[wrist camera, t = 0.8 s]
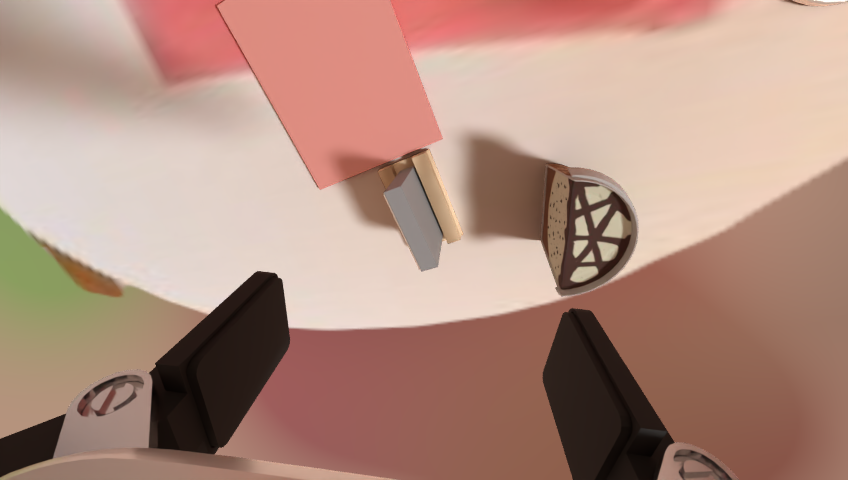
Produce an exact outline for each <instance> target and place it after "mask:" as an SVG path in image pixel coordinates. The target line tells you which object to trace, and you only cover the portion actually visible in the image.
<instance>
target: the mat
mask: <svg viewBox="0 0 848 480" xmlns="http://www.w3.org/2000/svg"><path fill="white" fill-rule="evenodd" d="M217 7H218V9H219V11H220V13H221V14H222V16H223V18H224V20H225V22H226V23H227V25H228V27H229V29H230V30H231V32H232V34H233V36H234V38H235V39H236V41H237V43H238V45H239V46H240V48H241V50H242V52H243V54H244V55H245V57H246V59H247V61H248V62H249V64H250V66H251V68H252V70H253V71H254V73H255V75H256V77H257V78H258V80H259V82H260V84H261V86H262V87H263V89H264V91H265V93H266V94H267V96H268V98H269V100H270V102H271V103H272V105H273V107H274V109H275V110H276V112H277V114H278V116H279V118H280V119H281V121H282V123H283V125H284V127H285V128H286V130H287V132H288V134H289V135H290V137H291V139H292V141H293V143H294V144H295V146H296V148H297V150H298V151H299V153H300V155H301V157H302V159H303V160H304V162H305V164H306V166H307V167H308V169H309V171H310V173H311V175H312V176H313V178H314V180H315V182H316V183H317V185H318V187H319V189H320V190H321V189H323V188H326V187H328V186H331V185H333V184H335V183H338V182H340V181H343V180H345V179H347V178H350V177H352V176H355V175H357V174H359V173H362V172H364V171H367V170H369V169H372V168H374V167H376V166H379V165H381V164H384V163H386V162H388V161H391V160H393V159H396V158H398V157H400V156H403V155H405V154H408V153H410V152H413V151H415V150H417V149H420V148H422V147H425V146H427V145H429V144H432V143H434V142H437V141H439V140H441V139H443V138H442V135H441V133H440V130H439V127H438V125H437V122H436V119H435V117H434V114H433V111H432V109H431V106H430V104H429V101H428V98H427V96H426V93H425V90H424V88H423V85H422V82H421V80H420V77H419V74H418V72H417V69H416V67H415V64H414V61H413V59H412V56H411V53H410V51H409V48H408V45H407V43H406V40H405V37H404V35H403V32H402V30H401V27H400V24H399V22H398V19H397V16H396V14H395V11H394V8H393V6H392V3H391V0H225V1H223V2H222V3H220V4H219V5H217Z"/></svg>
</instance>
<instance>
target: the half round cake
mask: <svg viewBox="0 0 848 480" xmlns="http://www.w3.org/2000/svg"><path fill="white" fill-rule="evenodd" d="M637 239H638V218H637V214H636V211H635V208H634V206H633V204H632V202H631V201H630V199H629V197H628V195H627V193H626V192H625V191H624V190H623V188H622V187H621V186H620V185H619V184H618V183H617V182H615V181H614V180H613V179H612V178H610V177H608V176H606V175H604V174H602V173H600V172H597V171H594V170H591V169H584V168H570V167H567V166H564V165H560V164H546V171H545V185H544V199H543V213H542V227H541V243H542V246H543V249H544V251H545V254H546V257H547V260H548V262H549V265H550V268H551V271H552V273H553V276H554V279H555V282H556V284H557V287H556V290H557V292H558V294H559V295H561V297H563V296H573V295H579V294H582V293H586V292H589V291H592V290H594V289H596V288H598V287H600V286H602V285H604V284H605V283H607V282H609V281H610V280H611V279H613V278H614V277H615V276H616V275H617V274H618V273H619V272H620V271H621V270H622V269H623V268H624V267H625V266H626V264H627V263H628V261H629V260H630V258H631V256H632V254H633V252H634V250H635V247H636V244H637Z"/></svg>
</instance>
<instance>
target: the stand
mask: <svg viewBox="0 0 848 480" xmlns="http://www.w3.org/2000/svg"><path fill="white" fill-rule="evenodd" d="M412 166H415V168H416V170H417V173H418V175H419V177H420V180H421V182H422V184H423V187H424V189H425V191H426V194H427V196H428V198H429V201H430V203H431V206H432V208H433V210H434V213H435V215H436V217H437V220H438V222H439V224H440V227H441V229H442V231H443V238H442V241H445V240H447V243H448V244H449V243H452V242H455V241H458V240H460V238H461V235H463V232H462V230H461V227H460V225H459V222H458V220H457V217H456V215H455V212H454V210H453V207H452V205H451V202H450V200H449V197H448V195H447V192H446V190H445V187H444V185H443V182H442V180H441V177H440V175H439V172H438V170H437V167H436V165H435V162H434V160H433V157H432V155H431V152H430V150H429V149H428V150H426V151H423V152H421V153H418V154H416V155H413V156H411V157H409V158H406V159H404V160H401V161H399V162H396V163H394V164H391V165H389V166H387V167H384V168H382V169H379V170H378V174H379V176H380V178H381V180H382V182H383V184H384V186H385V189H387V188H388V186H389V185H390V184H391V182H392V181H393V180H394V178H395V177H396V176H397V175H398V173H399V172H400V171H402V170H404V169H407V168H409V167H412Z"/></svg>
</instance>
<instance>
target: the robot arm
mask: <svg viewBox="0 0 848 480" xmlns="http://www.w3.org/2000/svg"><path fill="white" fill-rule="evenodd" d="M793 1H795V2H798V3H801V4H805V5H811V6H828V5H835V4H842V3H846V2H848V0H793ZM289 344H290V336H289V328H288V320H287V312H286V305H285V297H284V290H283V282H282V279H281V278H278V276H277V274H275V273H270V272H261V271H257V272H255V273H254V274H253V275H252V276H251V277H250V278H249V279H247V280H246V281H245V282H244V283H243V284H242V285H241V286H240V287H239V288H238V289H236V290H235V291H234V292H233V293H232V294H231V295H230V296H229V297H228V298H227V299H225V300H224V301H223V302H222V303H221V304H220V305H219V306H218V307H217V308H216V309H214V310H213V311H212V312H211V313H210V314H209V315H208V316H207V317H206V318H205V319H204V320H202V321H201V322H200V323H199V324H198V325H197V326H196V327H195V328H194V329H192V330H191V331H190V332H189V333H188V334H187V335H186V336H185V337H184V338H183V339H181V340H180V341H179V342H178V343H177V344H176V345H175V346H174V347H173V348H172V349H170V350H169V351H168V352H167V353H166V354H165V355H164V356H163V357H162V358H161V359H160V360H158V361H157V362H156V363H155V365H156V367H155V368H154V369H153V370H152V371H151V372H150V373H147V372H146V371H142V370H126V371H122V372H118V373H114V374H112V375H109V376H107V377H104V378H102V379H100V380H98V381H97V382H95V383H93V384H91V385H90V386H88V387H87V388H86V389H84V390H83V391H82V392H80V393H79V394H78V395H77V396H76V398H75V399H74V400H73V401H72V402H71V404H70V406H69V408H68V410H67V413H66V414H64V415H61V416H59V417H56V418H54V419H51V420H48V421H46V422H43V423H41V424H38V425H35V426H33V427H30V428H28V429H25V430H22V431H20V432H17V433H14V434H12V435H9V436H6V437H4V438H1V439H0V480H394V479H388V478H381V477H374V476H366V475H360V474H353V473H346V472H339V471H332V470H325V469H318V468H310V467H303V466H296V465H289V464H282V463H275V462H267V461H260V460H253V459H246V458H238V457H231V456H222V455H214V454H215V453H216V451H217V450H218V448H219V447H221V448H222V447H224V446H225V445H226V444H227V443H228V441H229V440H230V438H231V437H232V435H233V433H234V432H235V430H236V429H237V427H238V426H239V424H240V423H241V421H242V419H243V418H244V416H245V415H246V413H247V411H248V410H249V408H250V407H251V406H252V404H253V402H254V401H255V399H256V397H257V396H258V394H259V393H260V392H261V390H262V388H263V387H264V385H265V384H266V382H267V381H268V379H269V378H270V376H271V374H272V373H273V371H274V370H275V368H276V367H277V365H278V364H279V362H280V361H281V359H282V358H283V356H284V354H285V353H286V351H287V350H288V347H289ZM543 383H544V387H545V390H546V393H547V396H548V400H549V403H550V406H551V409H552V412H553V416H554V419H555V422H556V426H557V429H558V432H559V435H560V438H561V442H562V445H563V448H564V451H565V455H566V458H567V461H568V465H569V468H570V471H571V474H572V478H573V480H739V479H738V478H737V477H736V476H735V474H734V473H733V472H732V471H731V470H730V469H729V468H728V467H727V466H726V465H724V464H723V463H722V462H721V461H720V460H718V459H717V458H716V457H714V456H713V455H711V454H710V453H708V452H707V451H705V450H703V449H701V448H699V447H696V446H694V445H691V444H687V443H677V442H676V443H675V442H674V441H673V439H672V438H671V436H670V435H669V433H668V431H667V430H666V428H665V427H664V425H663V423H662V422H661V420H660V419H659V417H658V416H657V414H656V412H655V411H654V409H653V407H652V406H651V404H650V403H649V401H648V400H647V398H646V396H645V395H644V393H643V392H642V390H641V388H640V387H639V385H638V384H637V382H636V381H635V379H634V377H633V376H632V374H631V373H630V371H629V369H628V368H627V366H626V365H625V363H624V362H623V360H622V359H621V357H620V356H619V354H618V352H617V351H616V349H615V347H614V346H613V344H612V343H611V341H610V340H609V338H608V336H607V335H606V333H605V332H604V330H603V328H602V327H601V325H600V324H599V322H598V320H597V319H596V317H595V316H594V314H593V313H592V312H591V311H590V310H582V309H573V308H572V309H570V310H569V312H565V313H563V315H562V318H561V321H560V324H559V327H558V330H557V333H556V336H555V339H554V342H553V344H552V347H551V350H550V353H549V356H548V359H547V362H546V365H545V368H544V371H543Z"/></svg>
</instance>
